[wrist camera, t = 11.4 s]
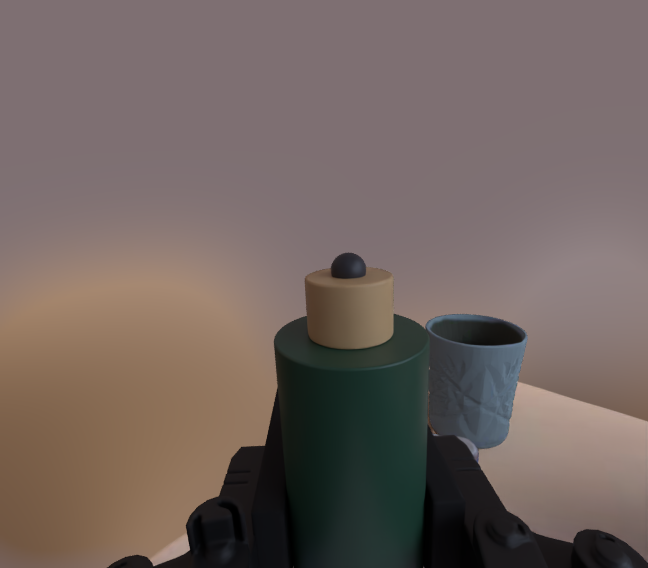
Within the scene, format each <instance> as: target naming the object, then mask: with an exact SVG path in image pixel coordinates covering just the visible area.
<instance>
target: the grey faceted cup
mask: <svg viewBox="0 0 648 568" xmlns="http://www.w3.org/2000/svg"><path fill="white" fill-rule="evenodd" d="M426 331H427V333H428V335H429V338H430V353H429V367H430V369H429V388H428V389H429V392H430V394H429V419H430V423H431V426H432V427H433V429H434V430H435V431H436V432H437V433H438V434H439V435H455V436H459V437H464V438H467V439H470V440H471V442H472V443H473V444H475V446H476V448H477V449H484V448H491V447H495V446H497V445H499V444H501V443H502V442H503V441H504V440H505V438H506V437H507V434H508V430H509V419H510V418H511V414H512V407H513V400H514V396H515V390H516V386H517V381H518V379H519V376H518V374H519V372H520V369H521V363H522V360H523V356H524V352H525V347H526V343H527V334H526V332H525V331H524V330H523V329H522V328H520V327H519V326H517V325H515V324H513V323H510V322H507V321H504V320H501V319H497V318H493V317H488V316H481V315H469V314H452V315H444V316H439V317H435V318H433V319H431V320H429V321H428V322H427V324H426Z"/></svg>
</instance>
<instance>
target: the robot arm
mask: <svg viewBox="0 0 648 568" xmlns="http://www.w3.org/2000/svg"><path fill="white" fill-rule="evenodd" d="M186 529H187V535H188V541H189V546H190V551H188V552H187V553H185V554H184V555H181V556H179V557H177V558H175V559H172V560H169V561H167V562H164V563H161V564H159V565H156V566H153V564H152V562H151V561H150V560H149V559H148V558H147V557H145V556H140V555H134V556H128V557H125V558H122V559H120V560H118V561H116V562H114V563H113V564H111V565H110V566H109V567H108V568H293V557H292V546H291V534H290V522H289V511H288V499H287V488H286V476H285V465H284V453H283V442H282V430H281V418H280V407H279V395H278V388H277V392H276V397H275V402H274V407H273V411H272V416H271V421H270V426H269V430H268V435H267V439H266V444H265V446H251V447H241V448H240V449H239V450H238V451H237V453H236V454H235V455H234V456H233V457H232V459H231V462H230V465H229V468H228V471H227V474H226V477H225V480H224V485H223V486H222V489H221V492H220V495H219V496H218V497H215V498H213V499H209V500H207V501H206V502H204V503H203V504H201V505H200V506H198V507H197V508H196V509H195V511H194V512H193V513H192V514H191V515H190V517H189V519H188V522H187V524H186ZM423 565H424V568H648V563H647V562H646V561H645V559H644V558H643V557H642V556H641V555H640V554H639V553H638V552H636V551H635V550H634V549H633V548H632V547H630V546H629V545H628V544H627V543H625V542H624V541H622V540H620V539H618V538H617V537H615V536H613V535H611V534H608V533H605V532H602V531H599V530H589V529H586V530H583V531H580V532H578V533H577V534H576V536H575V538H574V541H573V543H570V542H565V541H561V540H557V539H553V538H549V537H545V536H542V535H539V534H536V533H534V532H532V531H531V530H530V529H529V527H528V526H527V525H526V524H525V523H524V522H523V521H522V520H521V519H519V518H518V517H517V516H515V515H513V514H511V513H509V512H508V511H507V510H506V509H505V507H504V506H503V504H502V502H501V501H500V499H499V497H498V496H497V494H496V492H495V491H494V489H493V487H492V486H491V484H490V482H489V481H488V479H487V477H486V476H485V474H484V472H483V471H482V470H481V468H480V466H479V464H478V463H477V461H476V460H475V459H474V456H473V454H472V453H471V451H470V449H469V448H468V446H467V445H466V444H465V443H464V442H463V441H461V440H460V439H459V438H458V437H456V436H455V435H442V436H434V435H433V433H432V431H431V429H430V427H429V425H428V423H427V458H426V493H425V529H424V564H423Z"/></svg>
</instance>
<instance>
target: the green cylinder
mask: <svg viewBox="0 0 648 568" xmlns="http://www.w3.org/2000/svg"><path fill="white" fill-rule="evenodd" d="M393 280H394V277H393V275H392V273H390V272H388V271H386V270H382V269H378V268H371V267H366V265H365V263H364V261H363V260H362V258H361V257H359V256H358V255H356V254H354V253H344V254H341V255H339V256H338V257H337V258H336V259H335V260H334V261H333V263H332V266H331V268H330V269H323V270H319V271H316V272H313V273H310V274H309V275H307V276H306V278H305V291H306V310H307V316H305V317H302V318H299V319H297V320H294V321H292V322H290V323H288V324H287V325H285V326H284V327H282V328H281V329H280V330H279V331H278V332H277V334H276V336H275V339H274V348H275V360H276V372H277V384H278V395H279V407H280V418H281V430H282V442H283V453H284V465H285V476H286V488H287V499H288V511H289V522H290V534H291V546H292V557H293V568H423V564H424V529H425V493H426V458H427V423H428V388H429V353H430V338H429V335H428V333H427V331H426V330H425V329H424V327H422V326H421V325H420V324H418V323H416V322H415V321H413V320H411V319H408V318H406V317H403V316H399V315H396V314H393V301H394V299H393V298H394V297H393V296H394V295H393V294H394V292H393V291H394V290H393V286H394V285H393V284H394V281H393Z"/></svg>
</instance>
